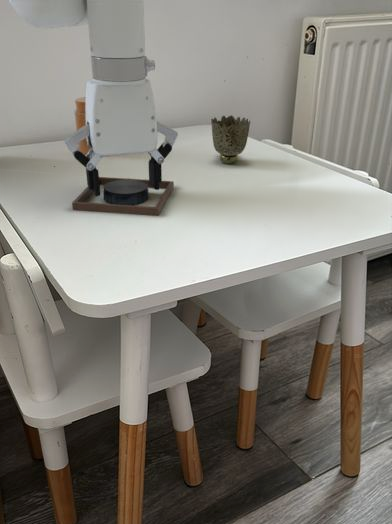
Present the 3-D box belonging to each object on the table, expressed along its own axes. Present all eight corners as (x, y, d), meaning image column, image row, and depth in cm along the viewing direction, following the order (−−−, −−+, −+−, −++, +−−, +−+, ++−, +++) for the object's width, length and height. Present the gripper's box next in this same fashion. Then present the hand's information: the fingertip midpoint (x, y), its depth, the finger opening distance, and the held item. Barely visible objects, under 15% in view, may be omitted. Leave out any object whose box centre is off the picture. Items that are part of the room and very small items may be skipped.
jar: (74, 155, 112) (68, 101, 107) (83, 147, 118) (79, 95, 112) (105, 156, 112) (101, 103, 106) (113, 148, 117) (110, 97, 111)
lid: (132, 211, 85) (131, 196, 84) (95, 203, 88) (93, 188, 87) (156, 198, 90) (156, 184, 89) (120, 190, 93) (119, 177, 92)
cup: (225, 169, 106) (227, 125, 101) (202, 160, 111) (203, 117, 106) (255, 163, 109) (258, 120, 105) (231, 155, 114) (233, 113, 110)
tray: (73, 215, 85) (71, 202, 84) (98, 188, 96) (97, 176, 94) (158, 221, 83) (158, 208, 82) (173, 193, 94) (173, 181, 93)
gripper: (167, 64, 84) (169, 178, 94) (52, 68, 79) (66, 188, 88) (185, 71, 78) (184, 191, 88) (62, 76, 73) (76, 204, 83)
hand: (125, 190), depth 88 cm, fingers open, 9 cm apart
